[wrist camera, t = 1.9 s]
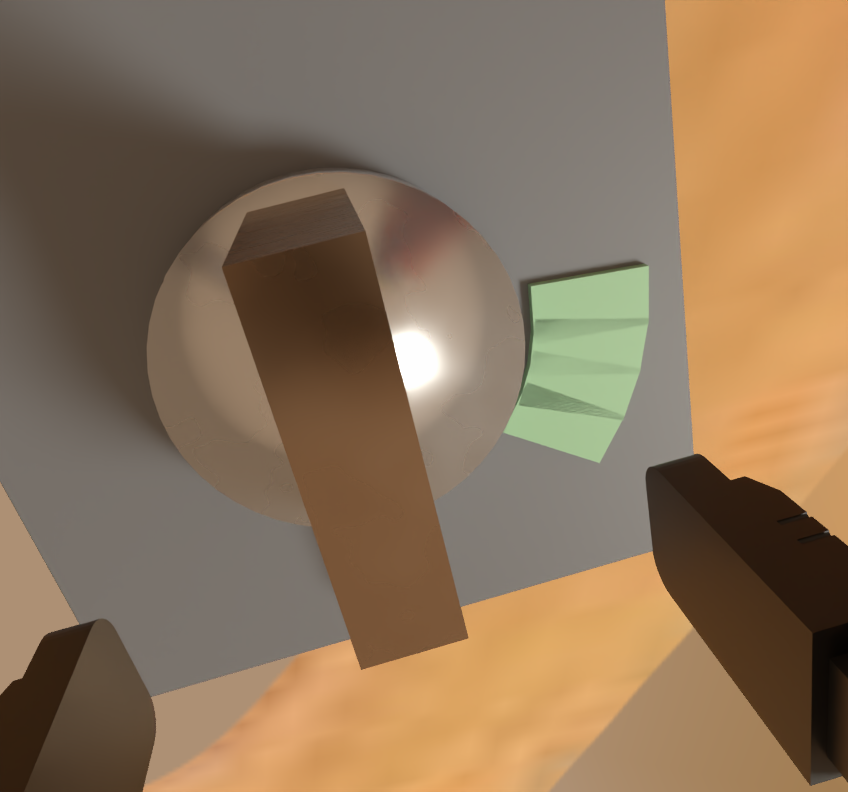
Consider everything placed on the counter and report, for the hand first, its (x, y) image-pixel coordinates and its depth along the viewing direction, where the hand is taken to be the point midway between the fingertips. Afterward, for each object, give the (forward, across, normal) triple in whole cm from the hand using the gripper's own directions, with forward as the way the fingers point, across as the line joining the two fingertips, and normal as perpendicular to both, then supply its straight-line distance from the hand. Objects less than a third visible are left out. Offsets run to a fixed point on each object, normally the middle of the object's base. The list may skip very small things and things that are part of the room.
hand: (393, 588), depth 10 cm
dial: (+11, 0, +2) cm, 11 cm away
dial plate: (+13, 0, 0) cm, 13 cm away
